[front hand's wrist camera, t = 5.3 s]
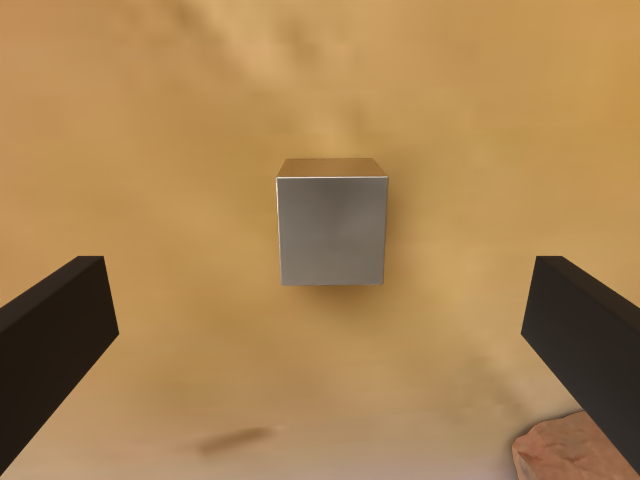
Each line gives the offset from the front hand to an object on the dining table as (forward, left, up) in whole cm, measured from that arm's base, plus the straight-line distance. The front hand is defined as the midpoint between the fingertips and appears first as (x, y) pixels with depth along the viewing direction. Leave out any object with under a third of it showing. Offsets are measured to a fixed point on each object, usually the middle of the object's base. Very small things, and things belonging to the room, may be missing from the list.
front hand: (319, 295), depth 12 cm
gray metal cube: (-1, -1, -7) cm, 7 cm away
